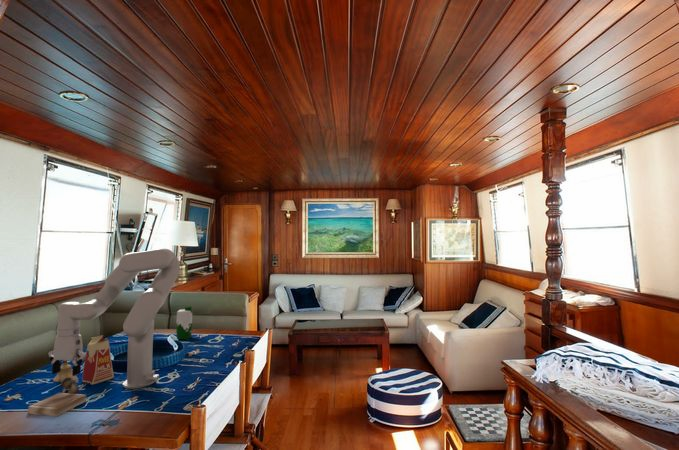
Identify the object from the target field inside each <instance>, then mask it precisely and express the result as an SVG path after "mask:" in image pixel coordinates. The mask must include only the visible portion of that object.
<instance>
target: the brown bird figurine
mask: <svg viewBox="0 0 679 450" xmlns="http://www.w3.org/2000/svg"><path fill="white" fill-rule="evenodd" d="M59 381H60V382H59V383H61V384H60V389H61V390H62V392H61V393H70V394H78V393H79V391H80V390H79V385H78V384H77V383H79V377H78V376H77V375H76V376H73V378H72V379H71V378H65V379H64V380H63V381H61V380H59ZM67 390H68V391H67ZM66 391H67V392H66Z"/></svg>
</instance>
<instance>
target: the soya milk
mask: <svg viewBox="0 0 679 450" xmlns="http://www.w3.org/2000/svg"><path fill="white" fill-rule="evenodd" d="M192 331H193V308H192V306H190V305H188V306H185V307H184V309H179V310H177V311H176V339H186V340H190V339H191V338H192V333H193V332H192ZM189 338H190V339H189Z"/></svg>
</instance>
